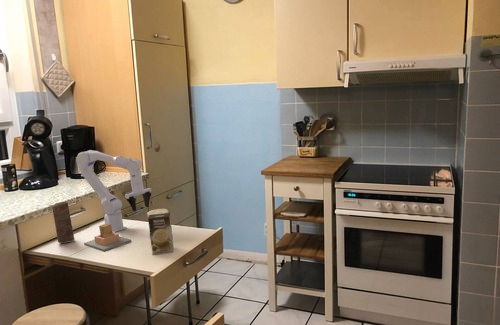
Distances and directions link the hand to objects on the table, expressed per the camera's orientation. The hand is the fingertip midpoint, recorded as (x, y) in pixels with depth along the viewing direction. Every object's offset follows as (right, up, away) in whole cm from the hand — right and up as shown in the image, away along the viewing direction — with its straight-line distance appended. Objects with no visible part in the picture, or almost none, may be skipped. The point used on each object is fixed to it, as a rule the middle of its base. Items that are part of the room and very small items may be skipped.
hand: (140, 208), depth 213 cm
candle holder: (+13, -12, -13) cm, 22 cm away
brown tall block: (-34, -16, -10) cm, 39 cm away
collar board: (-11, -14, -18) cm, 25 cm away
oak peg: (-11, -13, -18) cm, 25 cm away
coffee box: (+19, -15, -35) cm, 42 cm away
